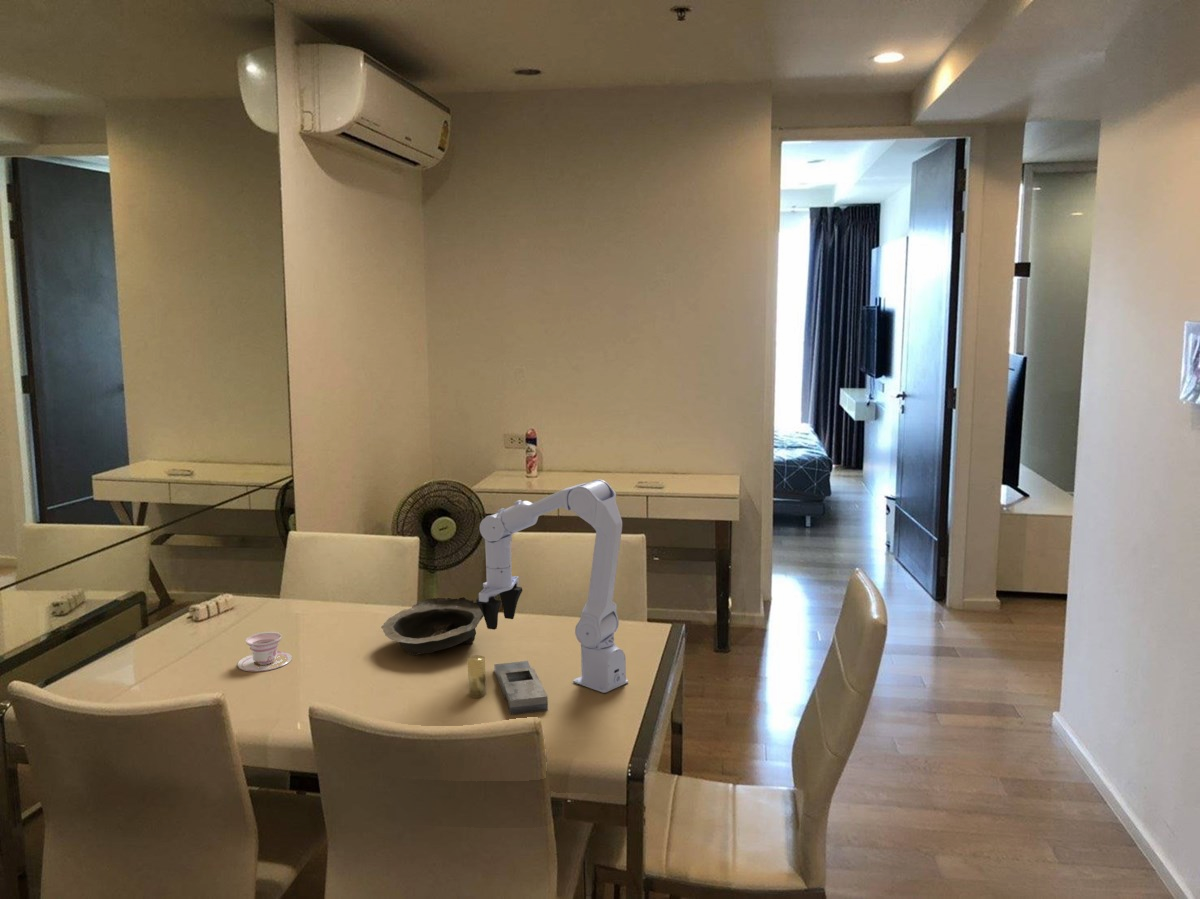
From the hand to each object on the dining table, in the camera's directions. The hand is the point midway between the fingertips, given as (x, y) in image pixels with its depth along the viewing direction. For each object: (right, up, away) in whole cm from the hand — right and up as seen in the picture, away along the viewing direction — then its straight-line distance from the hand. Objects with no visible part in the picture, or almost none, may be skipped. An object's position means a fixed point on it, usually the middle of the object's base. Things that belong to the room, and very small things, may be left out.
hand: (500, 623), depth 211 cm
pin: (-3, -12, -15) cm, 20 cm away
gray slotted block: (+5, -12, -13) cm, 18 cm away
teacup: (-56, -10, +5) cm, 57 cm away
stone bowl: (-18, -9, +14) cm, 24 cm away
